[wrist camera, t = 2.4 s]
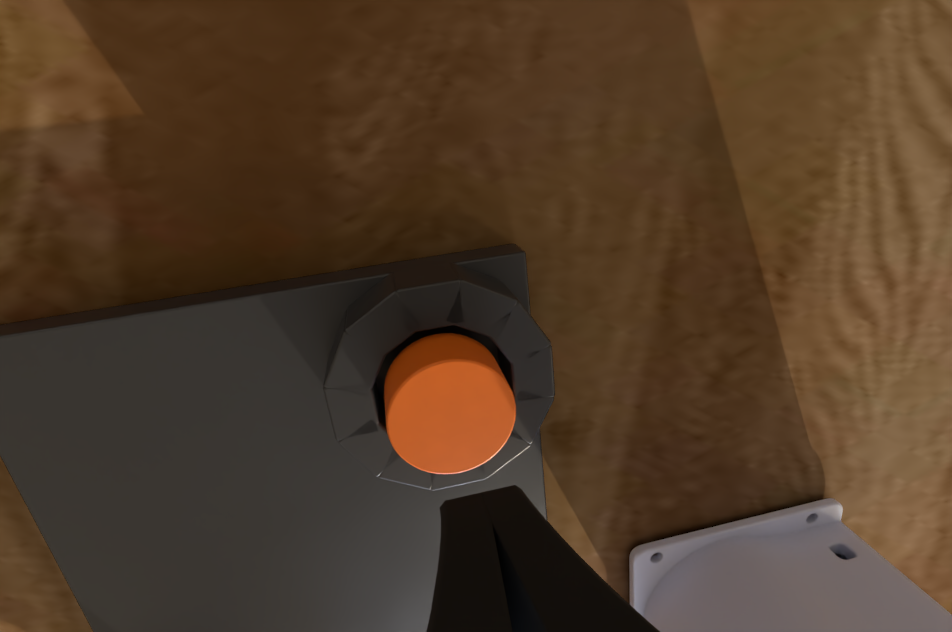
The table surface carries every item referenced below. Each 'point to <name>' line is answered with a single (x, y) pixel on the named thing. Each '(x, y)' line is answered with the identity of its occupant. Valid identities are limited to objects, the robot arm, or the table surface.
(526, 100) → the table surface
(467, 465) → the button
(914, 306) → the table surface
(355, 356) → the scale
